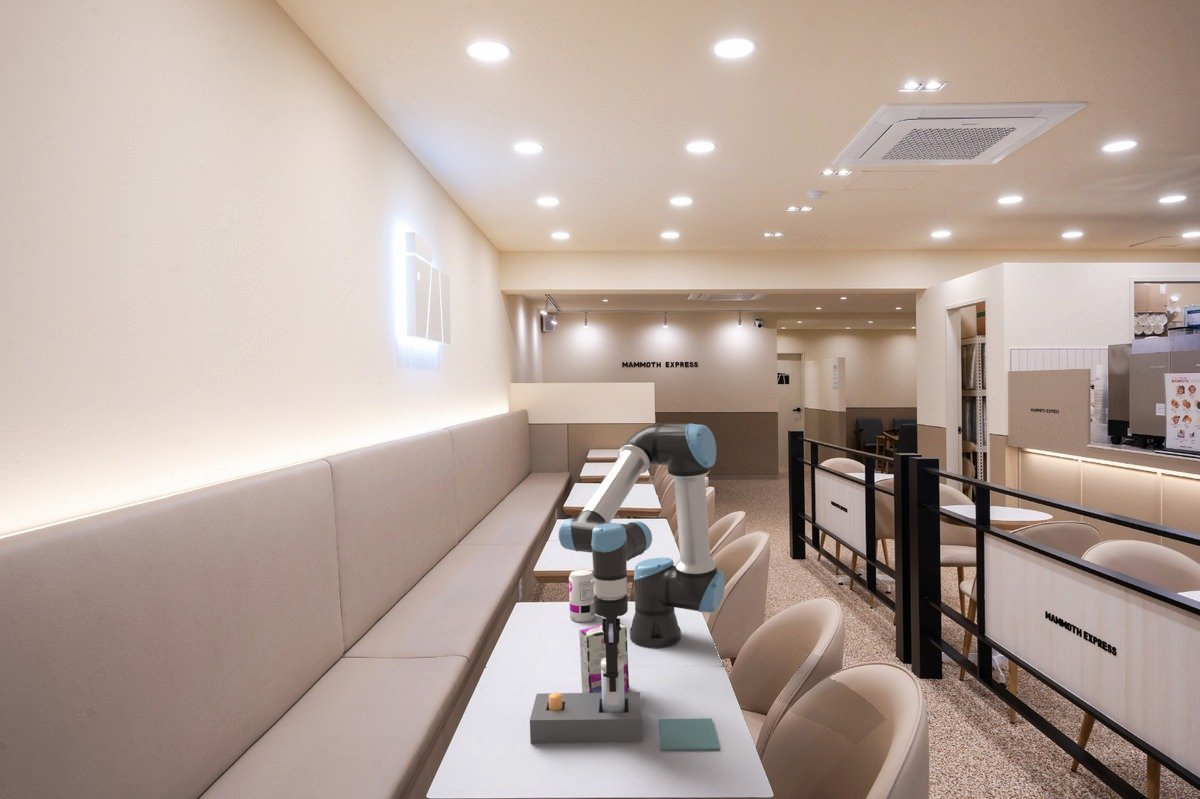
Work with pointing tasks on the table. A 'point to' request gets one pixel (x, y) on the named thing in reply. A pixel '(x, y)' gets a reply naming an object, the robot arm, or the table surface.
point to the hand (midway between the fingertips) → (613, 697)
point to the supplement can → (581, 595)
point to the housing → (585, 720)
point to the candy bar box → (599, 657)
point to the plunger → (555, 702)
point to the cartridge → (621, 706)
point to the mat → (687, 735)
